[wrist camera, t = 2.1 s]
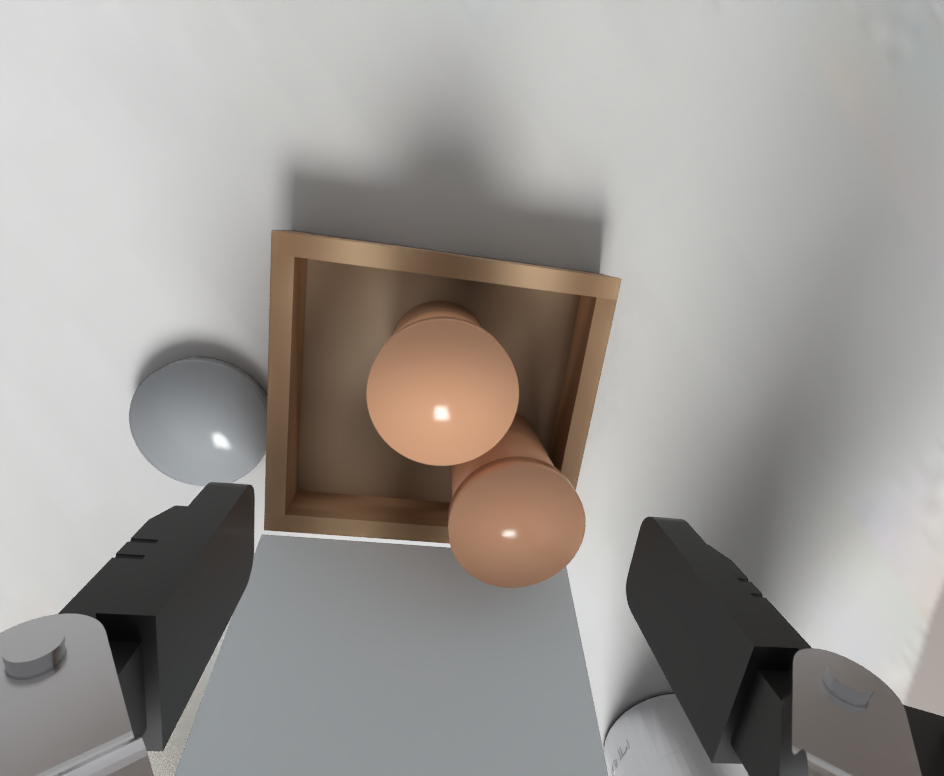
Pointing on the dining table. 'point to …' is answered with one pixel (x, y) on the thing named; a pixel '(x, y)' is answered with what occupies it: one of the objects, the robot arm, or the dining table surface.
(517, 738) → the grey flat square panel
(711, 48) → the dining table surface
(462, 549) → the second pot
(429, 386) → the peach mushroom knob
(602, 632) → the dining table surface
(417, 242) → the dining table surface
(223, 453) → the grey domed disc
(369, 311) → the wooden tray
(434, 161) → the dining table surface
